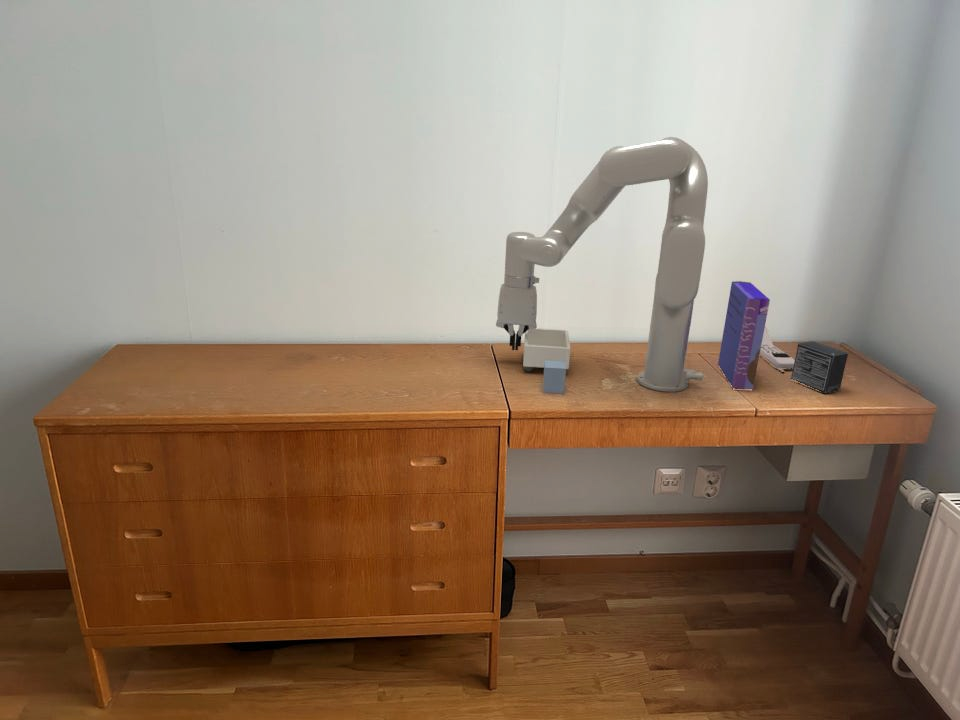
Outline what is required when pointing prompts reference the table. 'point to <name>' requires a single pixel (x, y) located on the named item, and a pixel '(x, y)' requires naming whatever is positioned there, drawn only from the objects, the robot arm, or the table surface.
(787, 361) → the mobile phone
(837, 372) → the small box
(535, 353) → the white storage bin
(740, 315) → the cereal box
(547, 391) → the block
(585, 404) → the table surface
